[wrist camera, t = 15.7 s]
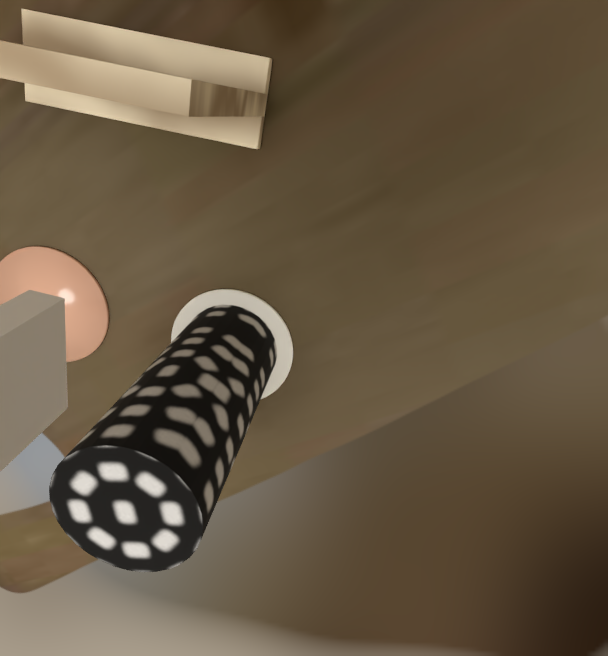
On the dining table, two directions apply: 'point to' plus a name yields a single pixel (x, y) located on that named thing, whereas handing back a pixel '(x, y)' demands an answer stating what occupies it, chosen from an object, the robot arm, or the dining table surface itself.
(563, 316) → the dining table surface
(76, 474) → the spotted tube
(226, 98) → the birch shelf
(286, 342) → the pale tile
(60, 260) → the pink round disc
